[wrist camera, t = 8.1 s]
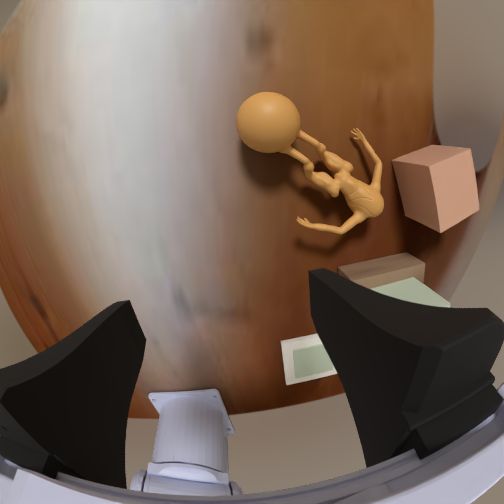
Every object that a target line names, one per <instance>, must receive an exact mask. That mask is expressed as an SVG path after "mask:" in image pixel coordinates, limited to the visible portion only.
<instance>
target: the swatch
mask: <svg viewBox="0 0 504 504" xmlns="http://www.w3.org/2000/svg"><path fill="white" fill-rule="evenodd" d="M281 348H282V357H283V365H284V373H285V381H286V385H290V384H295V383H299V382H304V381H308V380H313V379H317V378H321V377H325V376H329V375H333V374H337V371H336V369H335V367H334V366H333V364H332V362H331V360H330V358H329V356H328V354H327V352H326V350H325V348H324V346H323V344H322V342H321V340H320V338H319V336H318V334H313V335H308V336H304V337H299V338H294V339H289V340H284V341H281Z"/></svg>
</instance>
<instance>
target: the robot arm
mask: <svg viewBox="0 0 504 504" xmlns="http://www.w3.org/2000/svg"><path fill="white" fill-rule="evenodd" d="M308 273H309V288H310V305H311V316H312V319H313V322H314V325H315V328H316V331H317V334H318V336H319V338H320V340H321V342H322V344H323V346H324V348H325V350H326V352H327V354H328V356H329V358H330V360H331V362H332V364H333V366H334V367H335V369H336V371H337V373H338V375H339V378H340V380H341V382H342V384H343V387H344V390H345V393H346V396H347V399H348V402H349V405H350V408H351V411H352V413H353V417H354V420H355V424H356V427H357V431H358V434H359V438H360V442H361V445H362V449H363V453H364V458H365V462H366V467H367V468H365V469H363V470H359V471H357V472H353V473H351V474H347V475H344V476H340V477H337V478H333V479H330V480H326V481H322V482H318V483H313V484H309V485H304V486H300V487H294V488H288V489H283V490H277V491H269V492H262V493H252V494H243V491H242V489H241V488H240V487H239V486H238V485H237V483H235V482H230V481H229V474H228V444H227V435H232V434H235V430H234V428H233V425H232V423H231V420H230V418H229V416H228V413H227V411H226V408H225V406H224V403H223V401H222V398H221V396H220V393H219V391H218V390H217V389H206V390H195V391H180V392H159V393H149V396H148V397H149V399H150V400H151V402H152V404H153V405H154V407H155V408H156V410H157V411H158V413H159V414H160V417H159V422H158V428H157V433H156V439H155V445H154V451H153V457H152V463H148V470H143V469H141V470H139V471H138V472H137V473H135V474H134V476H133V479H132V482H131V487H130V490H128V489H127V486H126V474H125V439H126V427H127V419H128V412H129V407H130V402H131V399H132V395H133V392H134V388H135V385H136V382H137V378H138V375H139V372H140V368H141V365H142V362H143V357H144V351H145V344H146V338H145V336H144V334H143V331H142V329H141V327H140V324H139V322H138V320H137V317H136V315H135V312H134V310H133V307H132V305H131V302H130V300H127V301H119V302H116V303H114V304H112V305H110V306H109V307H107V308H106V309H104V310H103V311H101V312H100V313H99V314H97V315H96V316H95V317H93V318H92V319H91V320H89V321H88V322H87V323H85V324H84V325H83V326H81V327H80V328H78V329H77V330H76V331H74V332H73V333H71V334H70V335H69V336H67V337H66V338H64V339H63V340H61V341H60V342H58V343H57V344H55V345H53V346H51V347H50V348H48V349H46V350H45V351H43V352H41V353H39V354H37V355H35V356H32V357H30V358H28V359H26V360H24V361H22V362H19V363H17V364H14V365H11V366H8V367H5V368H2V369H0V504H470V503H472V502H473V501H474V500H475V499H477V498H478V497H479V496H480V495H482V494H483V493H484V492H486V491H487V490H488V489H489V488H490V487H491V486H493V485H494V484H495V483H496V482H497V481H498V480H500V479H501V478H502V477H503V476H504V383H502V384H501V386H500V387H499V388H498V389H497V390H496V389H495V387H494V386H493V385H492V384H493V383H494V381H495V377H494V376H493V375H492V373H491V372H490V370H491V368H492V366H493V364H494V361H495V359H496V357H497V355H498V353H499V351H500V349H501V346H502V344H503V341H504V322H503V321H502V320H501V319H500V318H498V317H497V316H496V315H495V314H494V313H493V312H491V311H490V310H489V309H488V308H448V307H437V306H430V305H424V304H419V303H413V302H409V301H405V300H401V299H398V298H394V297H391V296H387V295H384V294H382V293H379V292H376V291H374V290H371V289H369V288H366V287H364V286H362V285H359V284H357V283H355V282H353V281H351V280H348V279H346V278H344V277H342V276H340V275H338V274H336V273H334V272H332V271H330V270H327V269H325V268H321V269H316V270H311V271H308Z"/></svg>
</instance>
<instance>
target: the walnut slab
mask: <svg viewBox="0 0 504 504" xmlns="http://www.w3.org/2000/svg"><path fill="white" fill-rule="evenodd" d="M424 271H425V263H424V262H422V261H421V260H419V259H417V258H416V257H414V256H412V255H410V254H409V253H407V252H405V253H400V254H396V255H391V256H387V257H382V258H377V259H373V260H368V261H363V262H359V263H354V264H349V265H344V266H339V267H338V275H340V276H342V277H344V278H346V279H348V280H351V281H353V282H355V283H357V284H359V285H362V286H364V287H366V288H369V289H372V288H376V287H379V286H383V285H387V284H390V283H394V282H398V281H401V280H405V279H408V278H412V277H414V278H416V279H417V280H419V281H420V282H421V283H423V282H424Z"/></svg>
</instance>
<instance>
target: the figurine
mask: <svg viewBox="0 0 504 504" xmlns="http://www.w3.org/2000/svg"><path fill="white" fill-rule="evenodd" d="M236 128H237V131H238V134H239V136H240V138H241V139H242V141H243V142H244V143H245V144H246V145H247V146H249V147H250V148H252V149H254V150H256V151H259V152H263V153H274V152H280V153H286V154H288V155H290V156H292V157H294V158H295V159H297V160H299V161H300V162H302V163H304V166H303V169H304V173H305V176H306V178H307V179H308V180H310V181H312V182H313V183H314V184H316V185H318V186H320V187H322V188H323V189H325V190H326V191H327V192H328V193H329V194H330V195H331V196H332V197H337V196H338V195H339V190H340V191H341V192H342V193H343V194H344V197H345V199H346V202H347V204H348V206H349V207H350V209H351V210H352V211H353V213H354V214H353V216H352V217H350V218H349V219H348V220H347V221H346V222H345V223H344V224H343V225H342V226H341V227H336V226H330V225H326V224H311V223H309V221H308V220H307V219H306V218H304V219H305V221H304V220H302V219H300V218H299V217H297V218H298V219H299V220H298V219H297V221H298V222H299V223H300V224H301V225H303V226H305V227H308V228H311V229H316V230H320V231H328V232H333V233H336V234H344V233H346V232H347V231H349V230H350V229H351V228H353V227H354V226H355V225H356V224H358V223H361V222H362V221H364V220H365V219H366V218H368V217H376V216H378V215H379V214H380V213H381V212H382V211H383V208H384V201H383V198H382V196H381V194H380V189H381V187H380V180H381V174H382V162H381V160H380V159H379V158H378V156H377V155H376V154H375V152H374V150H373V149H372V147H371V146H370V144H369V143H368V142H367V140H366V139H365V137H364V135H363V134H362V133H361V132H360V130H358V129H357V128H356V129H357V130H358V131H356V130H355V129H353V130H354V131H355V132H356V133H354V132H352V131H351V132H352V133H353V134H354V135H356V136H357V138H354V139H356V140H361V141H362V142H363V145H364V147H365V149H366V150H367V152H368V153H369V155H370V156H371V158H372V160H373V162H374V163H375V169H374V173H373V178H372V182H371V184H370V185H367V184H365V183H363V182H361V181H359V180H357V179H355V178H354V177H352V176H351V175H350V173H351V172H352V171H353V166H352V165H351V164H350V163H349V162H347V161H344V160H343V159H341V158H340V157H338V156H337V155H335V154H334V153H331V152H328V151H326V147H325V145H324V144H322V143H319V142H318V141H317V140H315V139H314V138H312V137H311V136H309V135H307V134H306V133H304V132H303V131H301V130H300V116H299V113H298V110H297V108H296V107H295V105H294V104H293V103H292V102H291V101H290V100H289V99H288V98H286V97H285V96H283V95H281V94H278V93H274V92H262V93H258V94H255V95H253V96H251V97H249V98H248V99H247V100H246V101H245V102H244V103H243V104H242V105H241V107H240V108H239V110H238V113H237V117H236ZM296 138H299V139H301V140H303V141H305V142H307V143H309V144H310V145H312V146H315V147H316V152H317V153H318V155H319V157H320V158H321V159H322V160H323V161H324V163H325V165H326V166H327V168H328V169H329V170H331V171H333V172H337V173H336V174H335V175H334V179H332V178H331V177H330V176H329V175H328V174H327V173H325V172H313V170H314V165H313V163H312V162H310V161H309V159H308V158H307V157H305V156H304V155H302V154H301V153H299V152H298V151H297V150H295V149H294V148H292V147H291V144H292V143H293V142H294V140H295V139H296Z"/></svg>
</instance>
